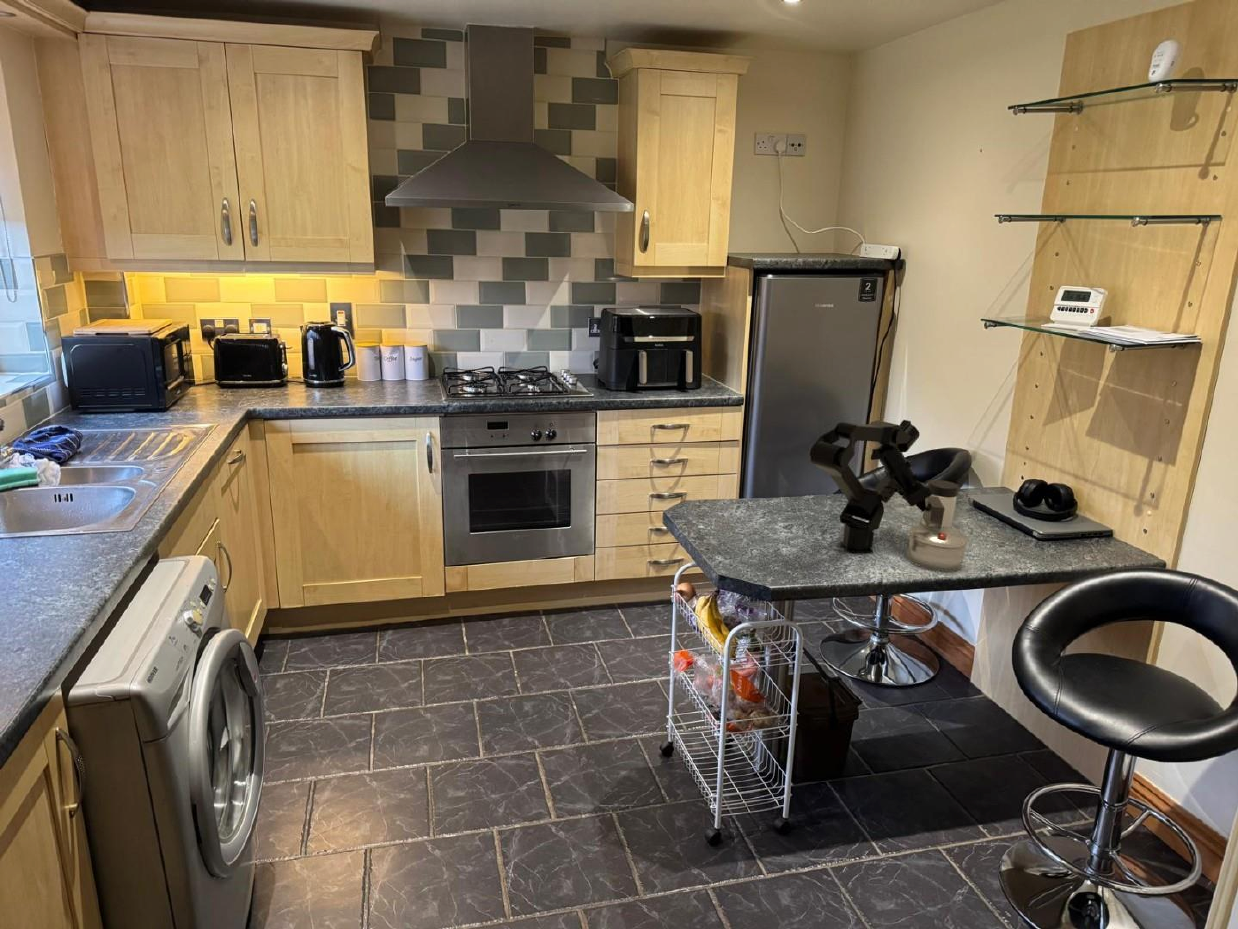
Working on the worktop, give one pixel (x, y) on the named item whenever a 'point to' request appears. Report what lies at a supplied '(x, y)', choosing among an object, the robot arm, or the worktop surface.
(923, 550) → the cooker pot
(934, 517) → the cooker lid
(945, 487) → the jar
